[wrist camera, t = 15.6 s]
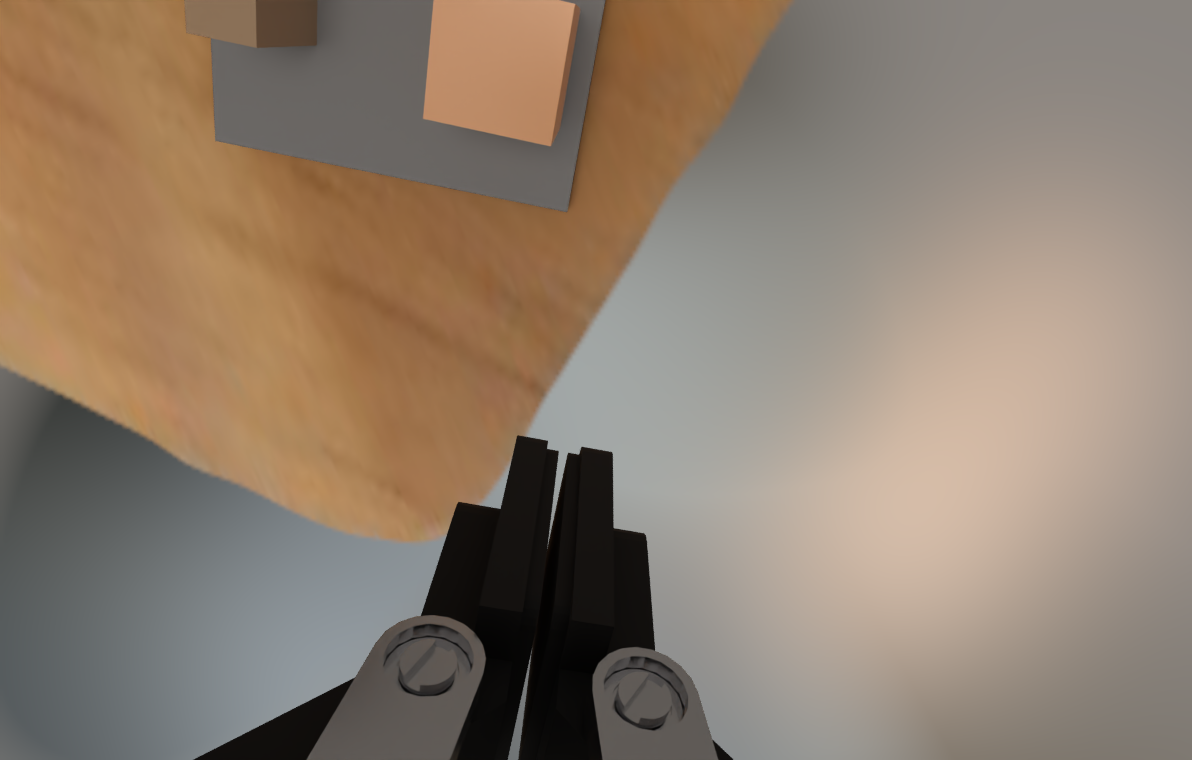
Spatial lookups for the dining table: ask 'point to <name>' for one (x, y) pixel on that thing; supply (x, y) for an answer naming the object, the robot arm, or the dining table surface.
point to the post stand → (374, 95)
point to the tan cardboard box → (501, 66)
